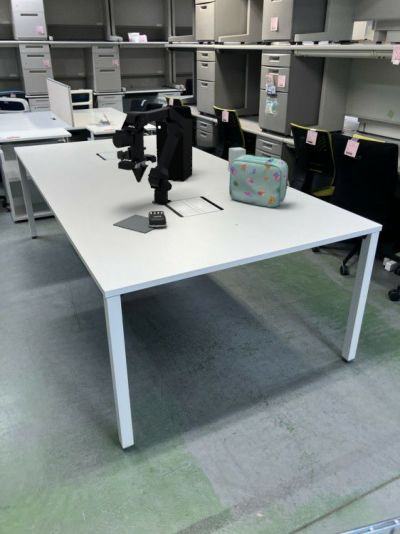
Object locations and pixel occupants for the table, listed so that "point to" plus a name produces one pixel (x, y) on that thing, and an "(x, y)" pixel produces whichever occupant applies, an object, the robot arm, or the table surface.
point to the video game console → (176, 151)
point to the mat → (135, 223)
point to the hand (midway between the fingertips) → (138, 182)
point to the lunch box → (258, 180)
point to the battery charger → (156, 219)
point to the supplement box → (235, 154)
